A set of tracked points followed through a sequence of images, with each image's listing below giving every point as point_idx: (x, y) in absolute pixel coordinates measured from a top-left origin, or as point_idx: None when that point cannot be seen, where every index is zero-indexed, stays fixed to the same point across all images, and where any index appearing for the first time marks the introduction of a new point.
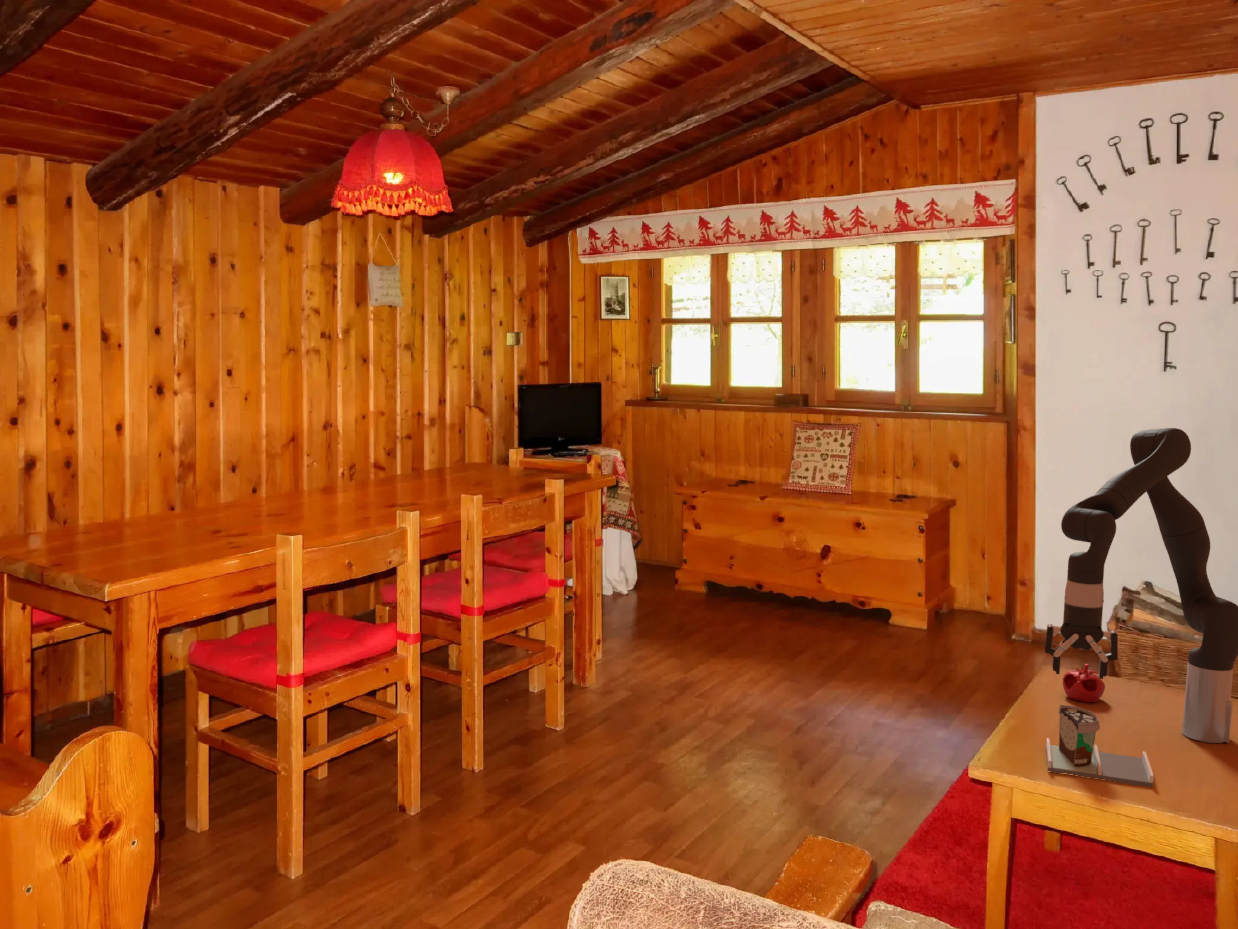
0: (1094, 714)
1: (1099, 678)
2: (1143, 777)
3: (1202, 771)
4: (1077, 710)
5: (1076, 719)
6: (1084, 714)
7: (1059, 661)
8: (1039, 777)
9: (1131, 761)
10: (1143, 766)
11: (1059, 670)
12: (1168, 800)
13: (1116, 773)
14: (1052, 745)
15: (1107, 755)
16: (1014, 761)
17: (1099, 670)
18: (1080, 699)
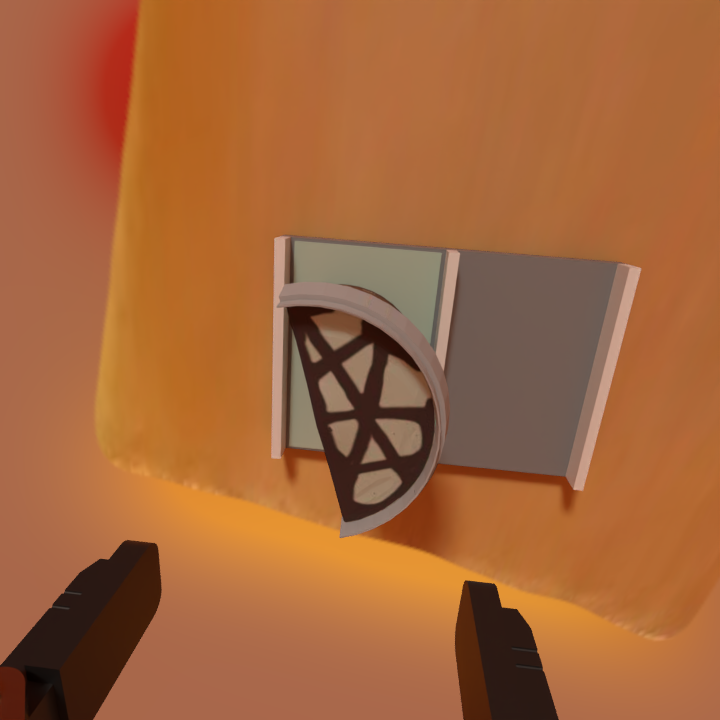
0: (434, 401)
1: (455, 636)
2: (558, 444)
3: None
4: (364, 322)
5: (343, 450)
6: (394, 357)
7: (89, 711)
8: (256, 480)
9: (563, 316)
10: (591, 351)
11: (142, 631)
12: (583, 538)
13: (479, 436)
14: (301, 246)
15: (489, 280)
16: (186, 384)
17: (468, 658)
18: None
